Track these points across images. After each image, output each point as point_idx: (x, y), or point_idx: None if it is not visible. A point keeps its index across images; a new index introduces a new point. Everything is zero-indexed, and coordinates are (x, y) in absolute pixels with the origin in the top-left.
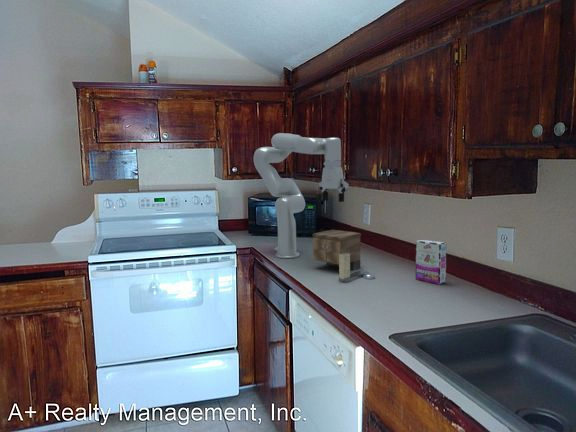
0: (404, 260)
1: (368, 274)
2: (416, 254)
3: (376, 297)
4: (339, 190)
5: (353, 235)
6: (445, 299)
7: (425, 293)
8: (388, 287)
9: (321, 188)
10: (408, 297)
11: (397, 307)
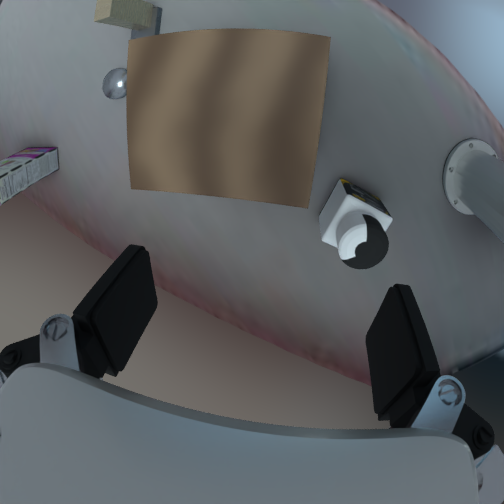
0: (159, 278)
1: (116, 83)
2: (17, 166)
3: (57, 8)
4: (59, 354)
5: (128, 131)
6: (4, 92)
7: (21, 90)
8: (62, 63)
9: (471, 433)
10: (28, 53)
11: (27, 11)
